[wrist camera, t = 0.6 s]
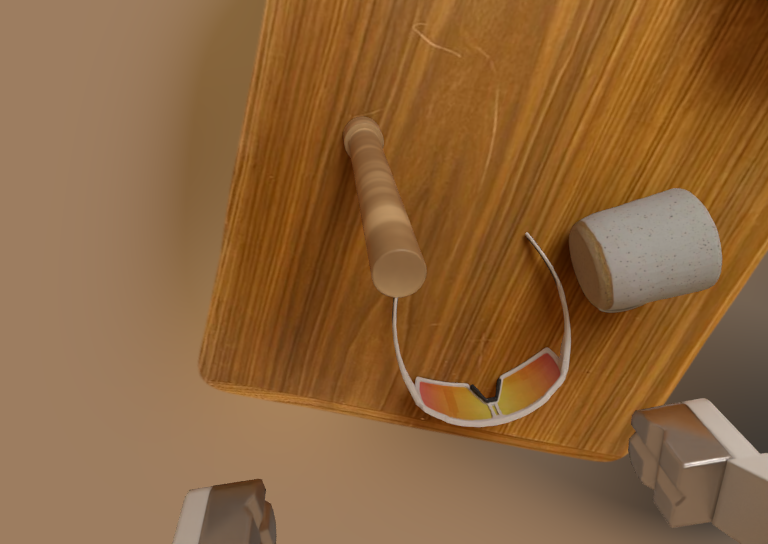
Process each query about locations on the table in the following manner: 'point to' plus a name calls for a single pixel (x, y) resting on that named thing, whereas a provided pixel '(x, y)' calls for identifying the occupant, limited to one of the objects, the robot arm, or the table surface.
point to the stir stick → (383, 214)
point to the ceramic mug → (646, 251)
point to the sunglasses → (513, 388)
